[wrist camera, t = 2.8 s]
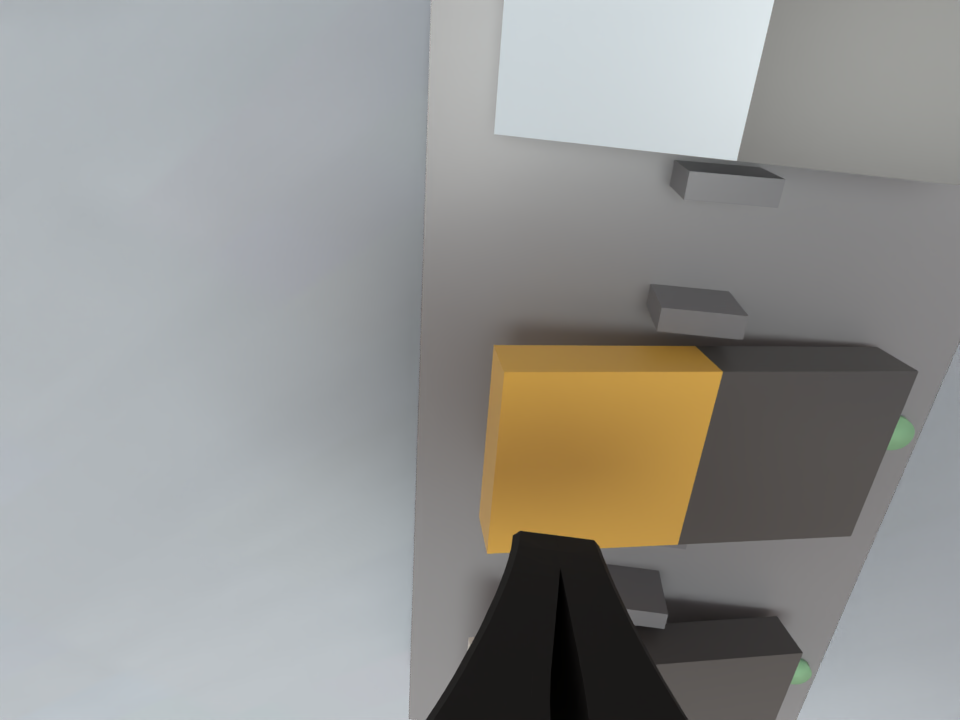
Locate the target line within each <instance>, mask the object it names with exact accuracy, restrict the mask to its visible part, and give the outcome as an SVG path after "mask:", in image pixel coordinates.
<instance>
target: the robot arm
mask: <svg viewBox="0 0 960 720" xmlns="http://www.w3.org/2000/svg"><path fill="white" fill-rule="evenodd" d="M426 720H688V718H687V717H686V715H685V714H684V712H683V710H682V709H681V707H680V705H679V704H678V702H677V700H676V699H675V697H674V695H673V694H672V692H671V690H670V689H669V687H668V685H667V684H666V682H665V680H664V679H663V677H662V675H661V673H660V672H659V670H658V668H657V666H656V665H655V663H654V661H653V659H652V657H651V656H650V654H649V652H648V650H647V648H646V646H645V644H644V642H643V641H642V639H641V637H640V635H639V633H638V631H637V629H636V627H635V625H634V624H633V622H632V620H631V618H630V616H629V614H628V611H627V609H626V607H625V605H624V603H623V601H622V599H621V597H620V595H619V592H618V590H617V588H616V586H615V584H614V581H613V579H612V577H611V574H610V572H609V570H608V567H607V565H606V562H605V560H604V557H603V555H602V552H601V549H600V546H599V545H598V544H597V543H596V542H595V540H590V539H582V538H574V537H566V536H558V535H550V534H542V533H534V532H527V531H519V532H517V533H516V534H514V535H513V537H512V545H511V550H510V554H509V558H508V561H507V565H506V568H505V571H504V573H503V576H502V579H501V581H500V584H499V586H498V589H497V591H496V594H495V596H494V598H493V600H492V602H491V605H490V607H489V609H488V611H487V613H486V615H485V618H484V620H483V622H482V624H481V626H480V628H479V630H478V632H477V634H476V636H475V638H474V640H473V641H472V643H471V645H470V647H469V649H468V651H467V652H466V654H465V656H464V658H463V660H462V661H461V663H460V665H459V667H458V669H457V670H456V672H455V674H454V676H453V677H452V679H451V681H450V682H449V684H448V686H447V687H446V689H445V691H444V692H443V694H442V695H441V697H440V699H439V700H438V702H437V703H436V705H435V706H434V708H433V709H432V711H431V712H430V714H429V715H428V717H427V719H426Z"/></svg>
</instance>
